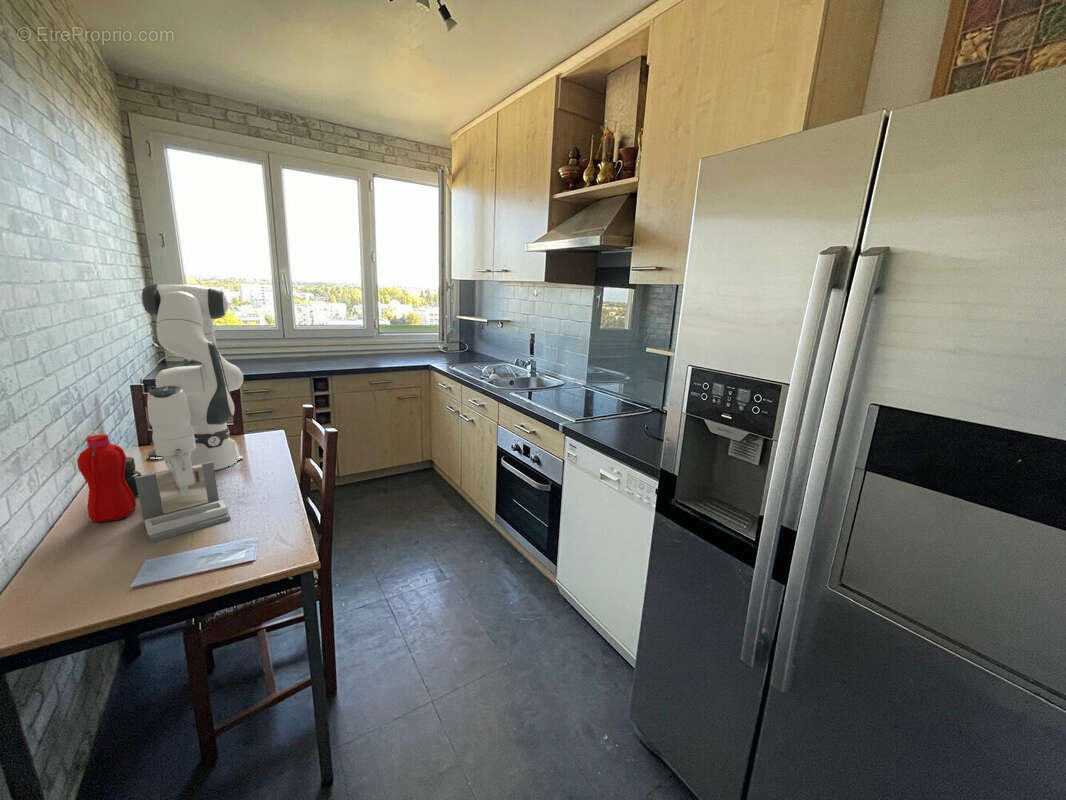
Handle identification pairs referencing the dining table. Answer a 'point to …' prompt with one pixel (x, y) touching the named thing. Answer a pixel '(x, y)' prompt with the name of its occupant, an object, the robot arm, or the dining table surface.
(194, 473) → the door panel
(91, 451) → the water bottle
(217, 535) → the dining table surface
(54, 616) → the dining table surface
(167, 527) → the grey tablet stand
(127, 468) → the ink bottle
